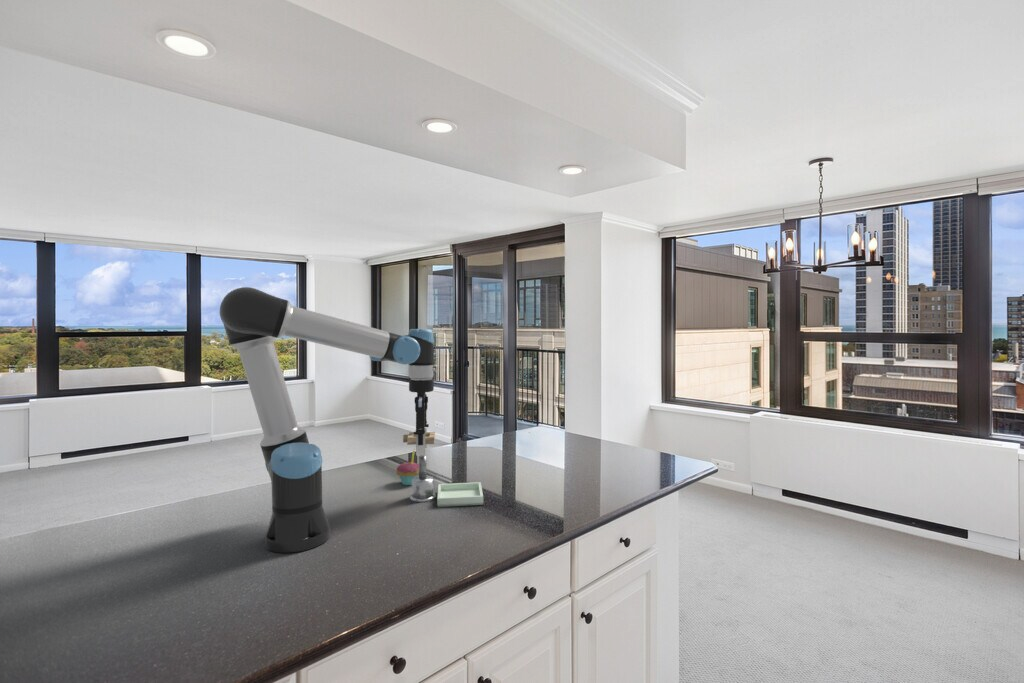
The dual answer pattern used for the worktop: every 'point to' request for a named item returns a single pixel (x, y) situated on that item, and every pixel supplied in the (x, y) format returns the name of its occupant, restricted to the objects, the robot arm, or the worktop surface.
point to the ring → (412, 438)
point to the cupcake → (408, 471)
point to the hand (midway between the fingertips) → (421, 451)
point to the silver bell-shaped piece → (422, 484)
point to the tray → (459, 494)
